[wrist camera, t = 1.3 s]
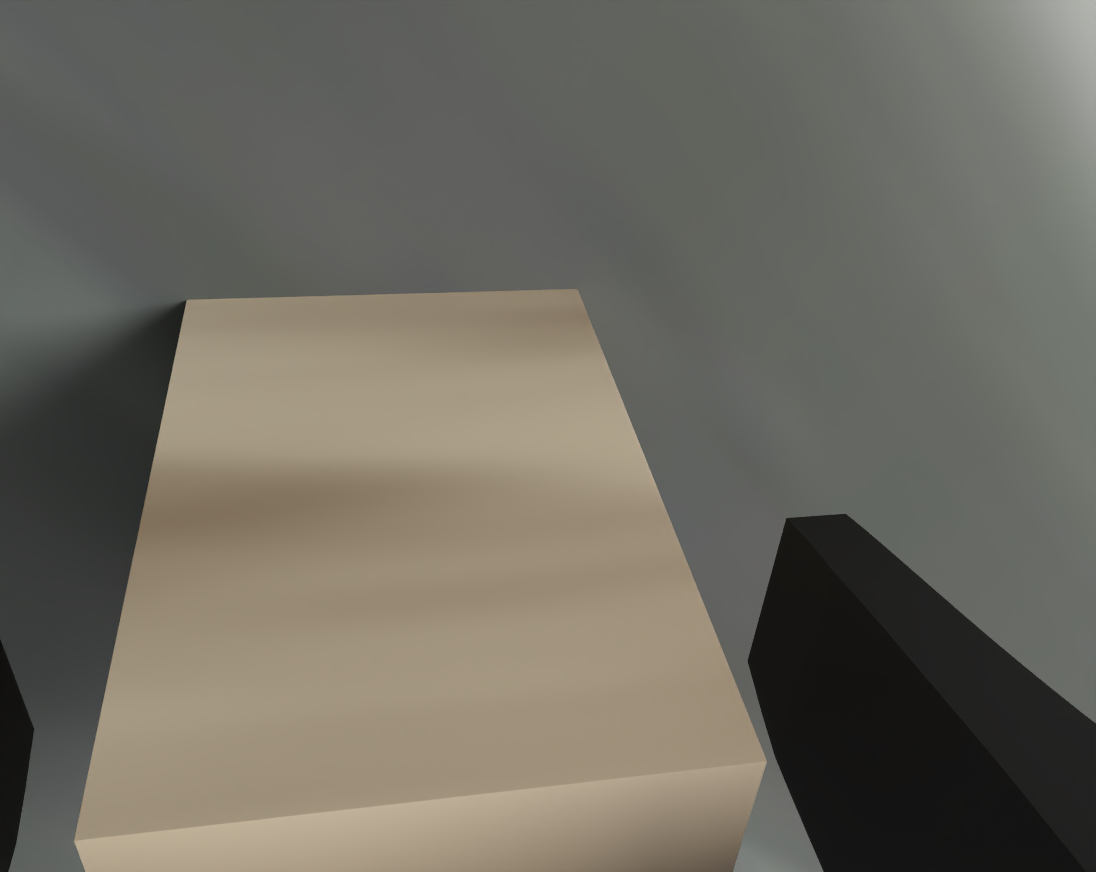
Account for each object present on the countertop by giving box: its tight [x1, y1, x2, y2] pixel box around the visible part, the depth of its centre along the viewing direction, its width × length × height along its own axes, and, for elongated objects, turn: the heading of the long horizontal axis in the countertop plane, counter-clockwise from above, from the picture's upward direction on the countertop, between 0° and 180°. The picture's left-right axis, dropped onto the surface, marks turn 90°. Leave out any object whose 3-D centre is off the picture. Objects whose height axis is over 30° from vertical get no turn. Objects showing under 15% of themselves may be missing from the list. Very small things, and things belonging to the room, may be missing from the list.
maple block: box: [74, 289, 767, 872], centre depth 10 cm, size 4×4×6 cm
